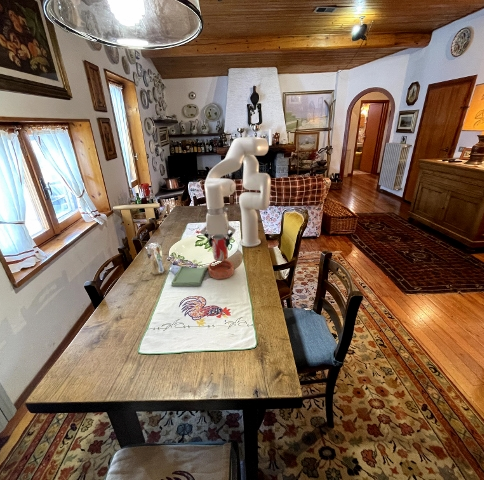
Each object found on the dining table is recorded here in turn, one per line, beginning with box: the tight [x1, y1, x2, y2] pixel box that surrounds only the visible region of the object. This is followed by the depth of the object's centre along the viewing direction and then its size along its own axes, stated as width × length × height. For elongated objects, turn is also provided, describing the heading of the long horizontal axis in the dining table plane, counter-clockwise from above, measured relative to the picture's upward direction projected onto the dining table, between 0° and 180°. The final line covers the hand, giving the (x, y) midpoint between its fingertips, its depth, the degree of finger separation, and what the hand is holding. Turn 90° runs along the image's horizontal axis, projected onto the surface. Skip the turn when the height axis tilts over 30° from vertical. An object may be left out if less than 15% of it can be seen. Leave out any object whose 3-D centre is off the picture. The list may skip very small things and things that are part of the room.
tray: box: [171, 265, 208, 287], centre depth 124 cm, size 17×13×2 cm
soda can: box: [211, 235, 229, 261], centre depth 121 cm, size 7×7×12 cm
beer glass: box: [145, 242, 165, 276], centre depth 127 cm, size 7×7×15 cm
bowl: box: [207, 259, 235, 280], centre depth 125 cm, size 12×12×4 cm
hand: (219, 245), depth 121 cm, fingers closed on soda can, 7 cm apart
